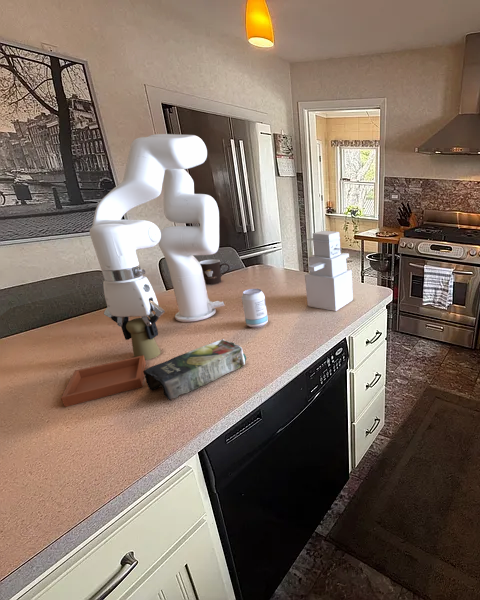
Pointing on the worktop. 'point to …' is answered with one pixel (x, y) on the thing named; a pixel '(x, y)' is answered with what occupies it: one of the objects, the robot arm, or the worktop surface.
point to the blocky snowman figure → (328, 273)
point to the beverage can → (254, 308)
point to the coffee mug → (212, 271)
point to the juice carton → (195, 368)
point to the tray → (104, 380)
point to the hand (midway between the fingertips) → (142, 336)
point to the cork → (142, 340)
